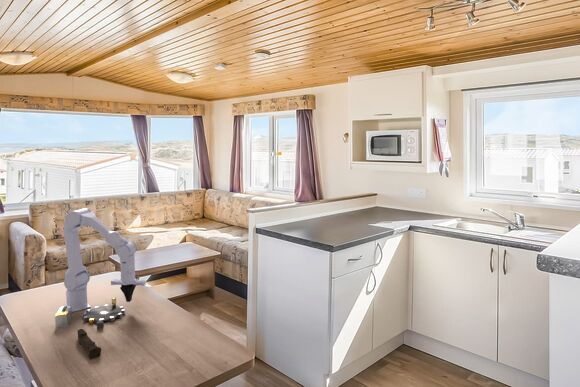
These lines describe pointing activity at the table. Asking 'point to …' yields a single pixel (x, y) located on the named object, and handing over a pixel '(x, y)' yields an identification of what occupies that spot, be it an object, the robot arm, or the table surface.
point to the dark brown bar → (88, 344)
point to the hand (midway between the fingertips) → (129, 301)
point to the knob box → (63, 317)
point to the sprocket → (104, 313)
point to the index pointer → (100, 324)
